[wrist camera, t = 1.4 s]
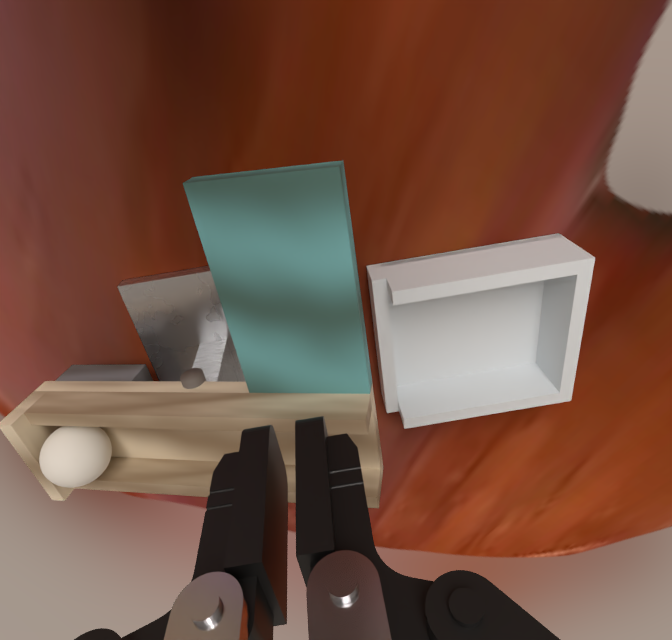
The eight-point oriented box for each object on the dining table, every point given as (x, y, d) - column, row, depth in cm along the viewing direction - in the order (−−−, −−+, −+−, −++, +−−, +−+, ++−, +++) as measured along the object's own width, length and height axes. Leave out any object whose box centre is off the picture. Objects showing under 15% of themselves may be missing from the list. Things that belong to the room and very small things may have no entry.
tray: (366, 265, 32) (376, 294, 28) (558, 233, 32) (595, 257, 28) (381, 393, 38) (391, 430, 34) (542, 365, 38) (570, 400, 34)
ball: (55, 409, 30) (10, 457, 26) (109, 408, 29) (70, 457, 25) (81, 451, 32) (43, 500, 28) (132, 451, 31) (99, 502, 28)
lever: (-25, 191, 26) (-143, 233, 20) (351, 148, 21) (324, 187, 15) (111, 434, 36) (55, 504, 30) (386, 443, 31) (377, 529, 26)
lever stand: (122, 280, 31) (88, 324, 26) (263, 256, 31) (258, 296, 26) (192, 442, 39) (178, 500, 34) (305, 423, 39) (307, 479, 34)
